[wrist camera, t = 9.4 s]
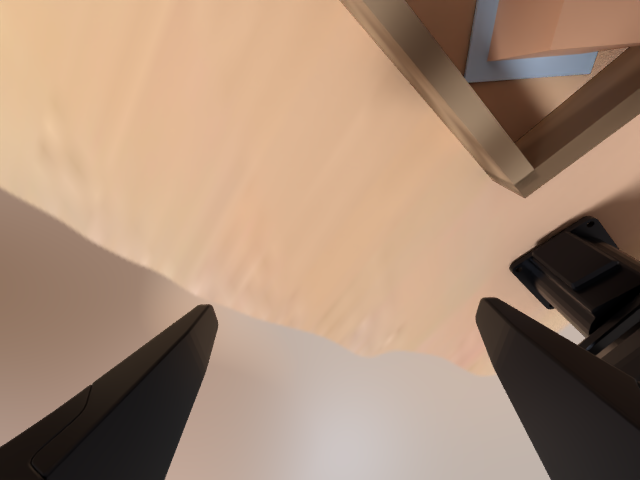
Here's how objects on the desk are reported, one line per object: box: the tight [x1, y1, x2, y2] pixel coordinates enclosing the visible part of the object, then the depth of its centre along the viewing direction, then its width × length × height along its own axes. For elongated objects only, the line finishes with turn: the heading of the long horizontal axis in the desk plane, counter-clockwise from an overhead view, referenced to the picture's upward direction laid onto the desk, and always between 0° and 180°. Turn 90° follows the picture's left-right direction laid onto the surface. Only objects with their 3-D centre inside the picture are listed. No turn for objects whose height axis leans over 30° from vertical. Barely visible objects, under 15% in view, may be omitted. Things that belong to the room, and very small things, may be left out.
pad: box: [464, 0, 598, 83], centre depth 14 cm, size 7×7×1 cm
